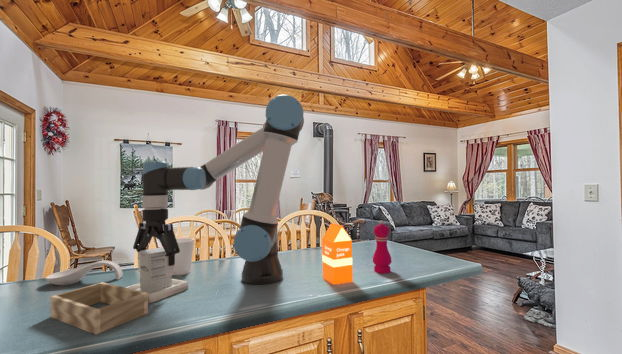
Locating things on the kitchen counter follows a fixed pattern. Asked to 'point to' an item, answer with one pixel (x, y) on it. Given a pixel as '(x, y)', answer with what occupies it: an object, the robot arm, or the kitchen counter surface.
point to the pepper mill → (381, 249)
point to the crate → (93, 320)
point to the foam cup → (183, 256)
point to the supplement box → (153, 270)
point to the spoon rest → (81, 273)
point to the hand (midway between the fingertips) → (155, 273)
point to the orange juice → (337, 255)
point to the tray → (175, 288)
